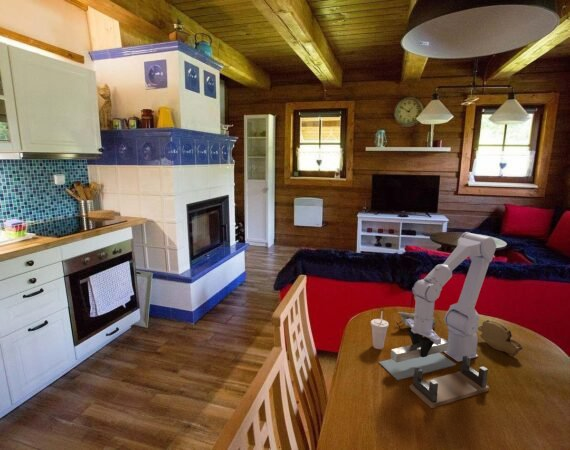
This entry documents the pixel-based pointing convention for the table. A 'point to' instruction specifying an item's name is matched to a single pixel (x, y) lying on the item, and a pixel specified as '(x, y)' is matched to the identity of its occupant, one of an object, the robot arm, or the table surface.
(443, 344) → the rail
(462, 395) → the rack
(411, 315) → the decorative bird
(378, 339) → the smoothie
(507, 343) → the wooden carving
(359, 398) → the table surface
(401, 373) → the mat
